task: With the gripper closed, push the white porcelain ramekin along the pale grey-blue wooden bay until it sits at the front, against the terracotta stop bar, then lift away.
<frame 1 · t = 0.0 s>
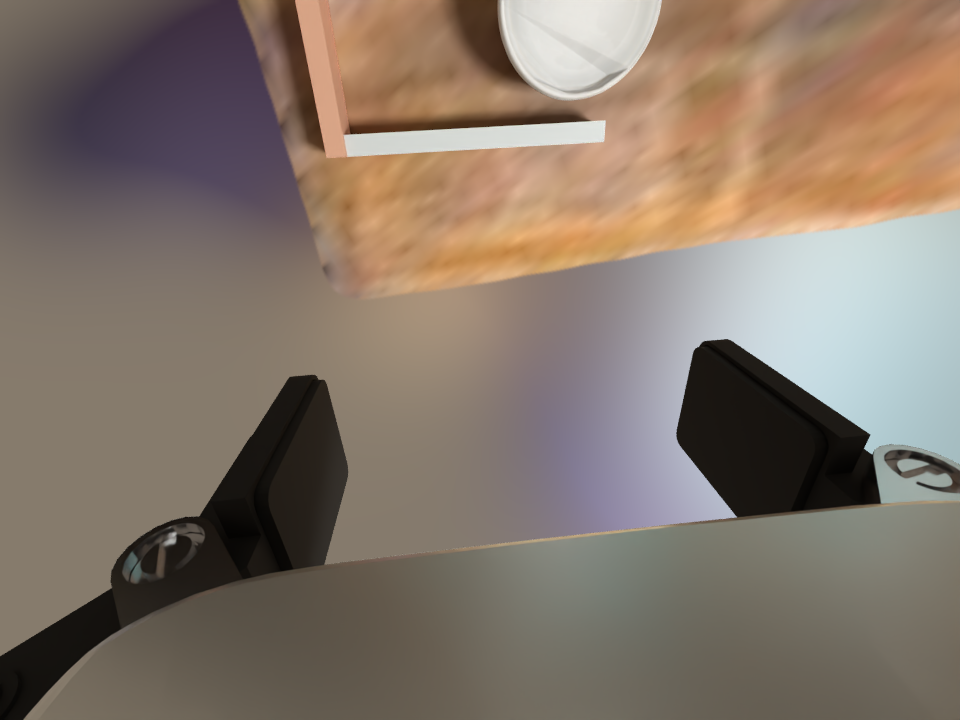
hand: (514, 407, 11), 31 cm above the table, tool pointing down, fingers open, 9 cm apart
bay: (459, 24, 32), on the table
ramekin: (560, 21, 33), on the table
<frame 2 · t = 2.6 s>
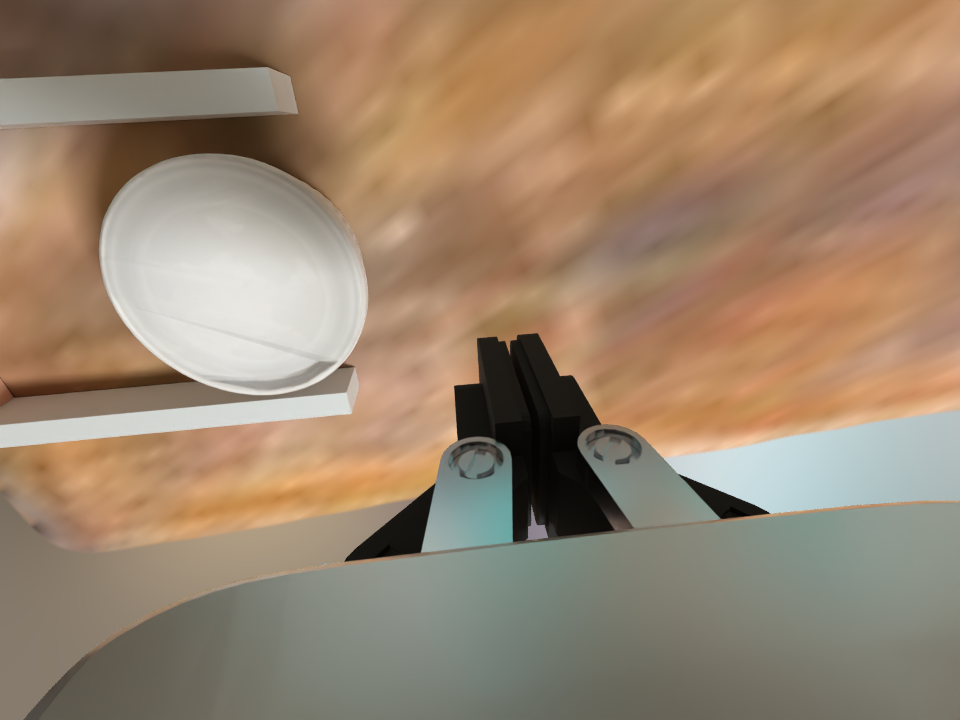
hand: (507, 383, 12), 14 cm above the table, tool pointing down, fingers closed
bay: (124, 273, 23), on the table
ramekin: (277, 261, 23), on the table
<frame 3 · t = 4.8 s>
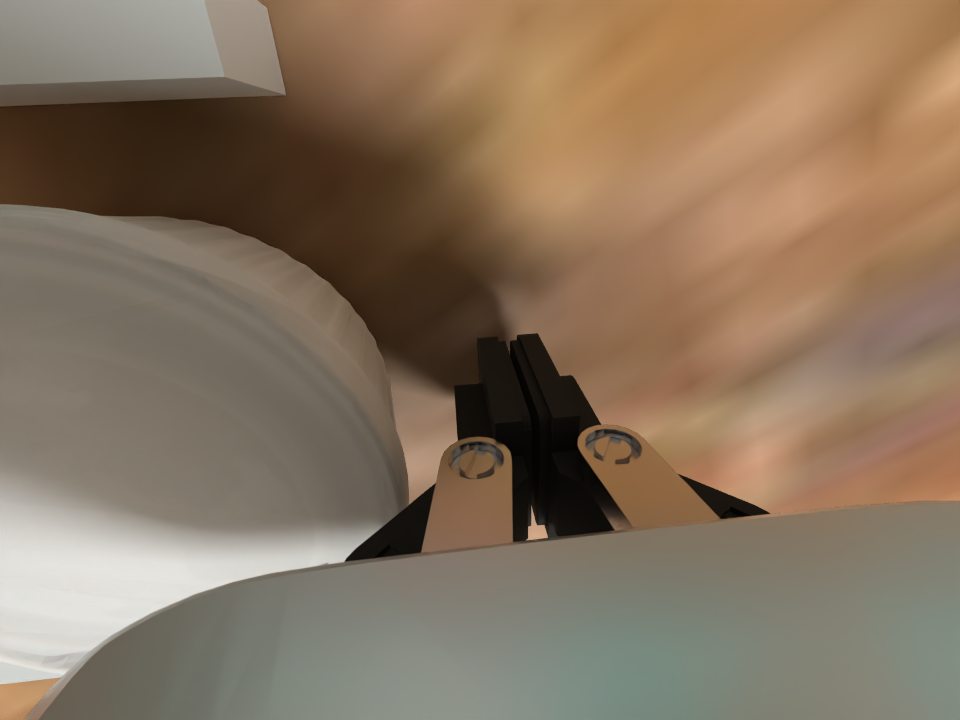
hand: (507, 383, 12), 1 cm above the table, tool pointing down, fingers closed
ramekin: (230, 381, 12), on the table, touching gripper
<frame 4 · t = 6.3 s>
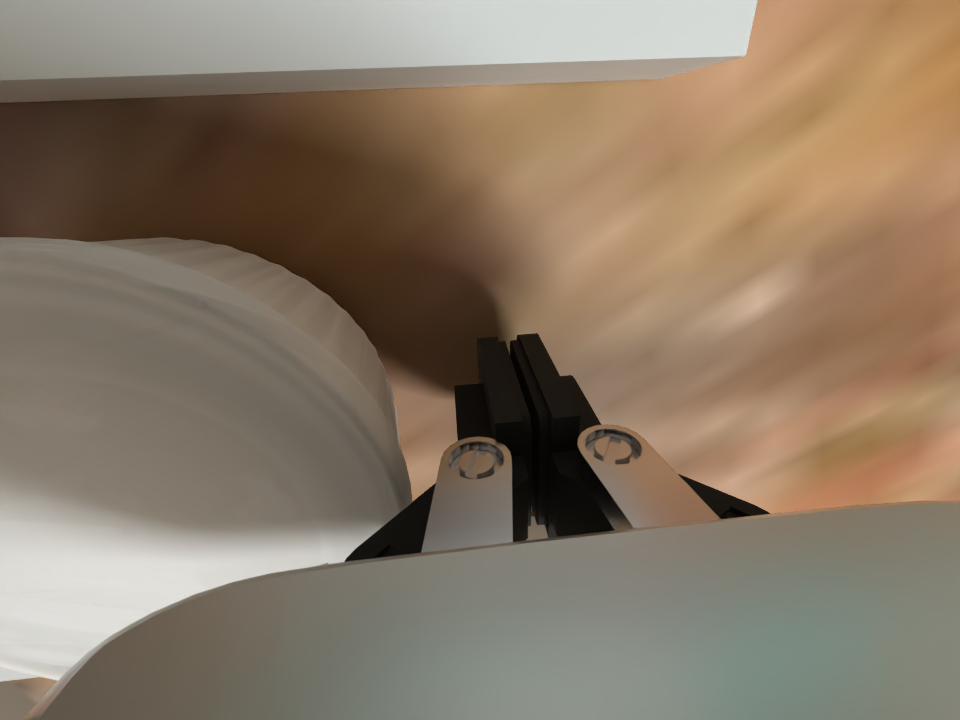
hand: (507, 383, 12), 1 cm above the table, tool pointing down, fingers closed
bay: (260, 376, 12), on the table
ramekin: (236, 393, 13), on the table
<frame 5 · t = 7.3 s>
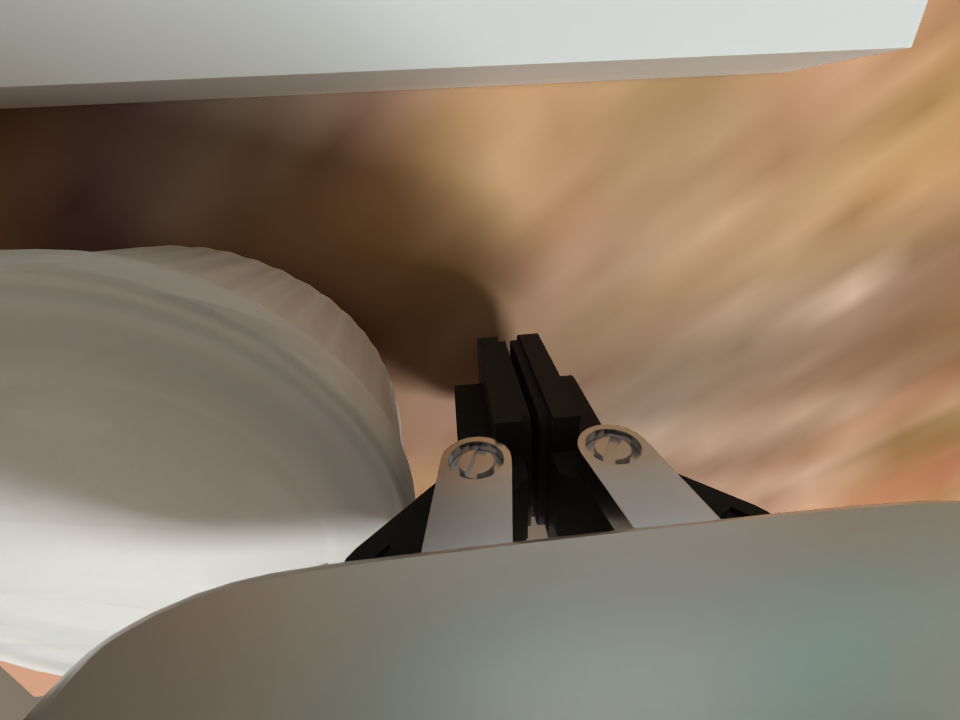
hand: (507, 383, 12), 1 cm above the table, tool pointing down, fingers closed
bay: (365, 370, 12), on the table
ramekin: (242, 396, 13), on the table
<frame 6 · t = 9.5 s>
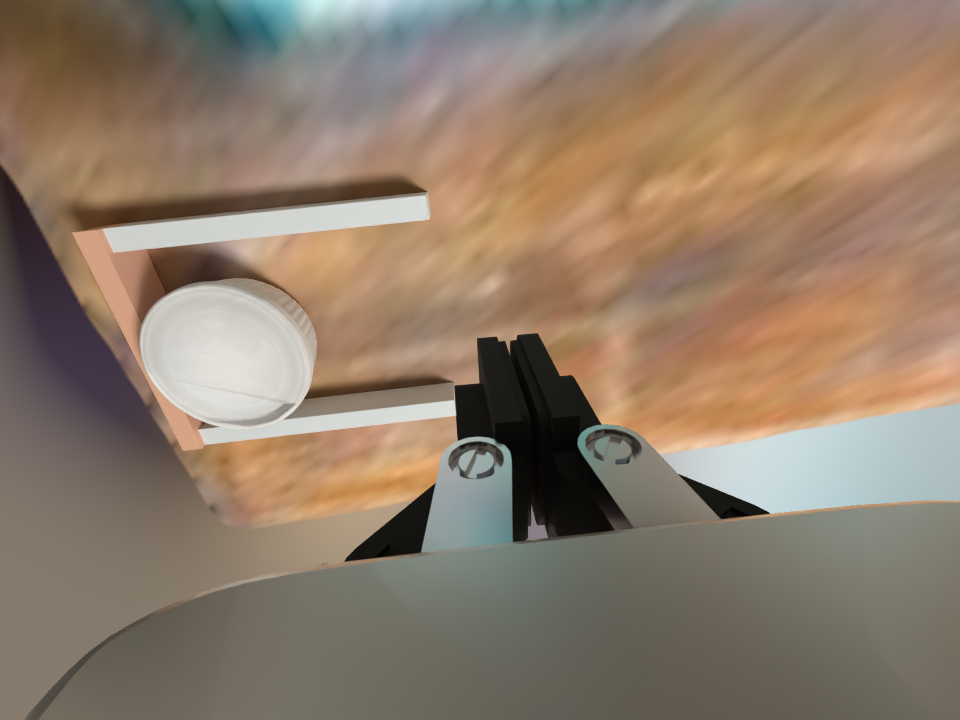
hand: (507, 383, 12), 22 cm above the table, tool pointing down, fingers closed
bay: (304, 321, 33), on the table
ramekin: (258, 334, 34), on the table
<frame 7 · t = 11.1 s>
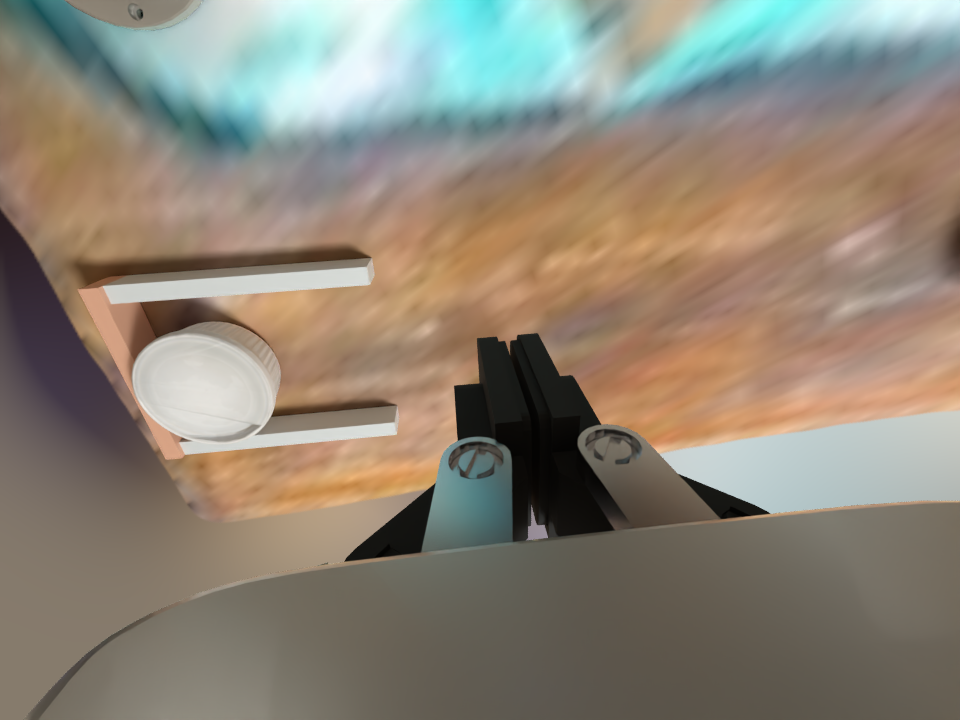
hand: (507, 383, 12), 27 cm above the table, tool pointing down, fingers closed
bay: (270, 354, 40), on the table
ramekin: (231, 364, 40), on the table
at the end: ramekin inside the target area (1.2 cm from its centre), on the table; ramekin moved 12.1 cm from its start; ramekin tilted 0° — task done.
